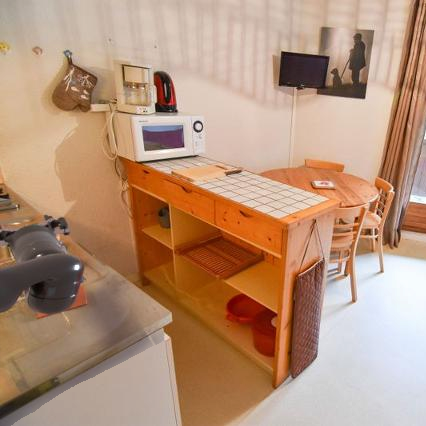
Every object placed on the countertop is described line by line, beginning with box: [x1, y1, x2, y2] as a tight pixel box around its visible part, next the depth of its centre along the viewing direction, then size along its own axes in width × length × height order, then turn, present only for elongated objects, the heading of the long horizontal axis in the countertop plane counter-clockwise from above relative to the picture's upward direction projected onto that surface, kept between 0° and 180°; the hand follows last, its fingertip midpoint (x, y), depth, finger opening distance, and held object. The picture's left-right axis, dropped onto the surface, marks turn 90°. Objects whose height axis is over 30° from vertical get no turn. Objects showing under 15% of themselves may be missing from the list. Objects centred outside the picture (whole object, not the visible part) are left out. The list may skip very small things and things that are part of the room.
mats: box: [36, 276, 88, 319], centre depth 96 cm, size 11×23×1 cm, turn 38°
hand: (23, 222), depth 76 cm, fingers open, 8 cm apart
